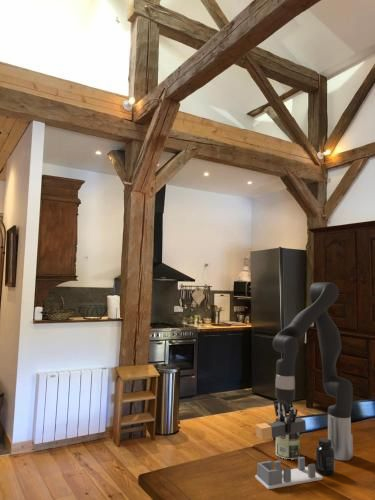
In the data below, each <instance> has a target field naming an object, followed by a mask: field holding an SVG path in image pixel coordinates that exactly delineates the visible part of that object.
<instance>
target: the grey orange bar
mask: <svg viewBox="0 0 375 500" xmlns="http://www.w3.org/2000/svg"><path fill="white" fill-rule="evenodd" d="M306 425H307V424H306V420H305V419H303V418H301V417H296V420H295V423H291V433H285V421H281V422H275V421H274V422H271V423H266V422H263V423H257V424H255V437H256V438H258V439H259V440H260V441H267V440H272V439H274V438H276V437H279V436H284V435H289V434H294V433H298V432H299V433H303V432H306V431H307V426H306Z"/></svg>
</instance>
